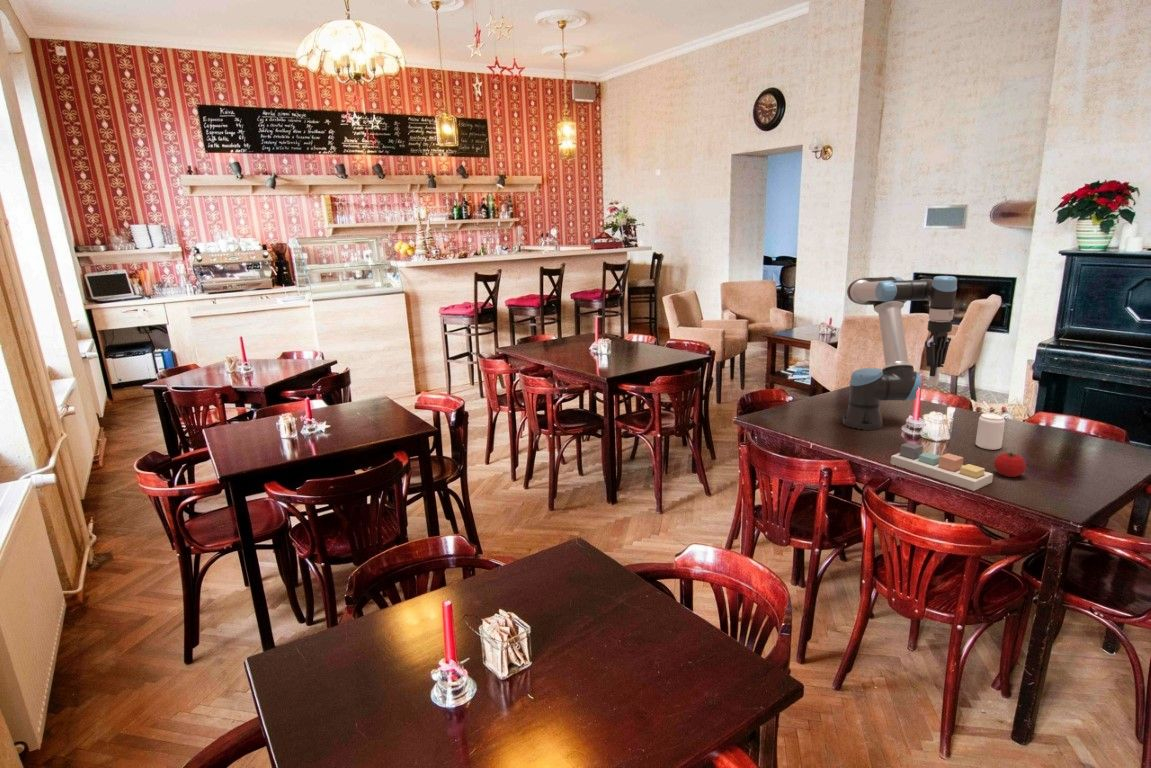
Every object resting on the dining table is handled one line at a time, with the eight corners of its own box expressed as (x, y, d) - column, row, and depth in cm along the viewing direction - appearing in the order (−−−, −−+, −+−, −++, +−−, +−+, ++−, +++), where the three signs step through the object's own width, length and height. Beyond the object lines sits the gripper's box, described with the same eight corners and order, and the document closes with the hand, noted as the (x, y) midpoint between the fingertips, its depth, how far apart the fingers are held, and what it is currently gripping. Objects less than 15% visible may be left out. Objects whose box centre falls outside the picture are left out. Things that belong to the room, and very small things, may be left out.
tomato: (1013, 482, 203) (1016, 459, 201) (986, 472, 211) (989, 450, 209) (1030, 477, 207) (1034, 454, 205) (1003, 468, 214) (1006, 446, 212)
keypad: (890, 463, 221) (891, 455, 220) (908, 457, 227) (909, 449, 226) (973, 490, 198) (975, 482, 197) (991, 482, 204) (993, 473, 203)
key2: (917, 467, 216) (919, 455, 215) (926, 463, 218) (927, 452, 217) (932, 471, 212) (933, 459, 211) (940, 468, 214) (942, 456, 213)
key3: (938, 468, 210) (939, 456, 209) (946, 465, 212) (948, 453, 211) (953, 473, 206) (955, 460, 205) (961, 469, 208) (963, 457, 207)
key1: (899, 456, 221) (900, 445, 220) (907, 453, 224) (909, 442, 222) (913, 461, 217) (914, 449, 216) (921, 457, 219) (923, 446, 218)
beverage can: (993, 443, 237) (998, 412, 234) (1005, 450, 230) (1010, 419, 227) (971, 443, 238) (975, 412, 235) (982, 450, 230) (986, 419, 227)
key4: (958, 479, 205) (960, 467, 203) (967, 476, 207) (968, 463, 206) (974, 485, 200) (976, 472, 199) (983, 481, 203) (984, 468, 202)
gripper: (940, 323, 217) (933, 389, 223) (961, 319, 224) (953, 383, 230) (919, 321, 223) (912, 385, 229) (940, 317, 230) (933, 379, 236)
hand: (933, 384), depth 230 cm, fingers closed
